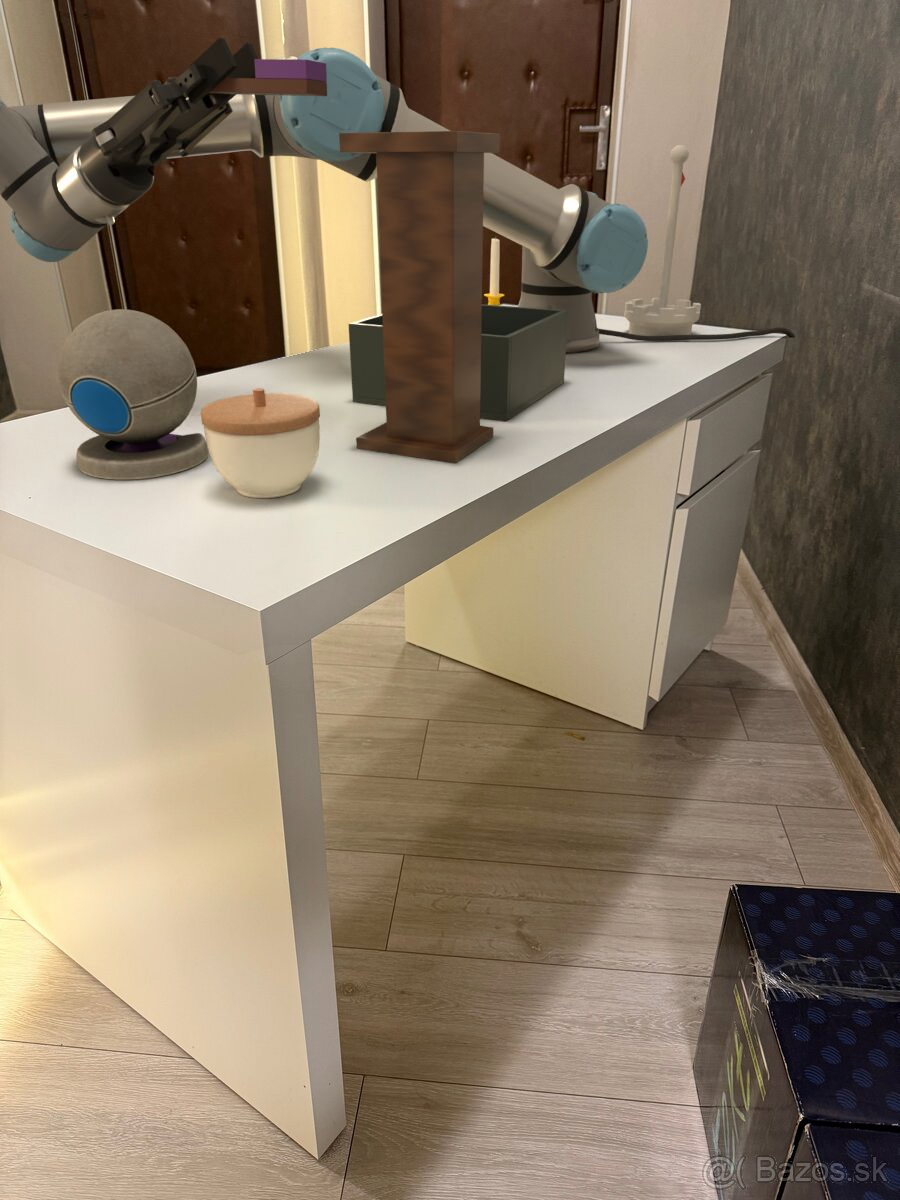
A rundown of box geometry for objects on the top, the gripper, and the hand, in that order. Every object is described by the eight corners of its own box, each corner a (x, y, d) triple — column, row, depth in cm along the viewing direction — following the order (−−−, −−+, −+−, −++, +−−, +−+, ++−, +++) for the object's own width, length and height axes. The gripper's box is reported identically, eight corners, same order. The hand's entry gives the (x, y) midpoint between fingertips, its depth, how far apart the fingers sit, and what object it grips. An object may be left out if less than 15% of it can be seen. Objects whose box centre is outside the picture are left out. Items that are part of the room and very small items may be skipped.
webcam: (227, 445, 91) (209, 302, 84) (170, 484, 80) (142, 323, 73) (121, 438, 94) (94, 298, 87) (51, 475, 83) (13, 319, 76)
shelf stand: (356, 448, 90) (338, 132, 76) (400, 424, 98) (391, 135, 84) (455, 463, 86) (456, 130, 72) (493, 437, 94) (500, 133, 80)
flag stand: (685, 343, 141) (711, 143, 127) (612, 337, 147) (629, 144, 133) (704, 331, 152) (730, 144, 137) (635, 325, 157) (653, 145, 143)
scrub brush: (169, 90, 86) (165, 58, 85) (192, 93, 89) (189, 62, 87) (307, 93, 80) (306, 59, 79) (327, 96, 83) (326, 63, 82)
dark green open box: (427, 368, 125) (426, 300, 120) (564, 383, 117) (568, 310, 112) (352, 401, 108) (348, 323, 103) (506, 421, 100) (509, 337, 95)
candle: (512, 324, 159) (515, 236, 152) (493, 327, 156) (495, 237, 148) (493, 320, 162) (495, 234, 155) (474, 324, 159) (475, 235, 152)
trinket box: (322, 505, 75) (314, 403, 71) (202, 509, 74) (186, 406, 70) (328, 467, 85) (321, 374, 80) (221, 470, 84) (208, 377, 79)
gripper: (173, 204, 103) (306, 98, 90) (67, 210, 90) (206, 86, 77) (142, 143, 101) (273, 26, 89) (29, 140, 88) (165, 2, 75)
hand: (242, 54), depth 83 cm, fingers closed on scrub brush, 4 cm apart
